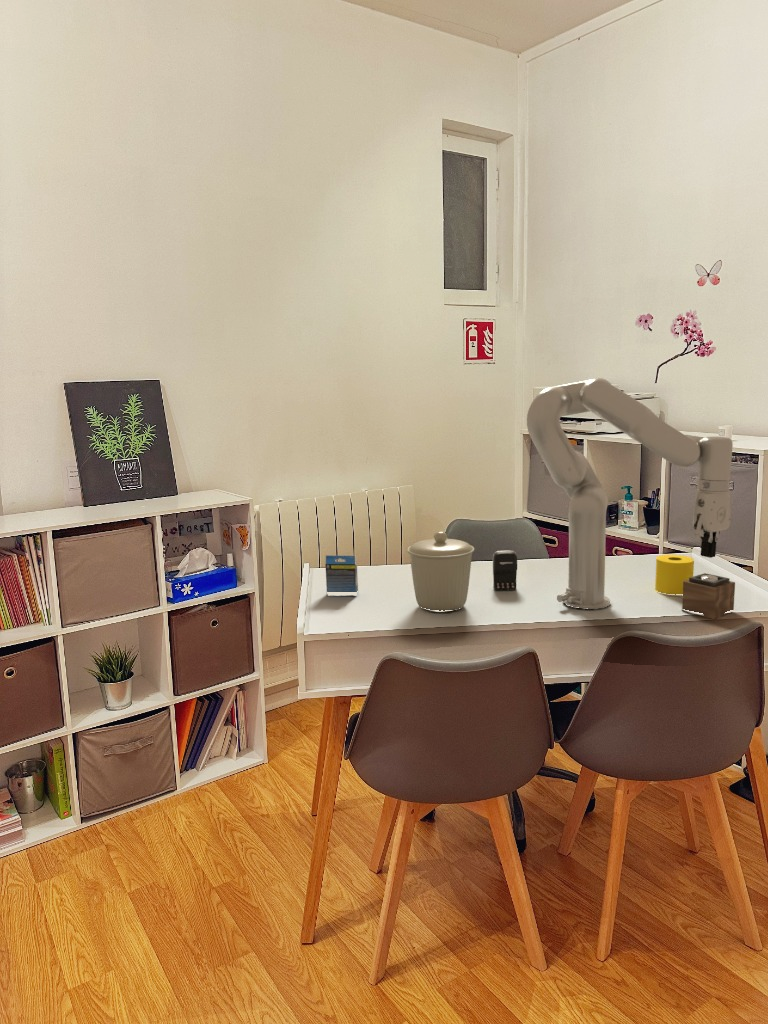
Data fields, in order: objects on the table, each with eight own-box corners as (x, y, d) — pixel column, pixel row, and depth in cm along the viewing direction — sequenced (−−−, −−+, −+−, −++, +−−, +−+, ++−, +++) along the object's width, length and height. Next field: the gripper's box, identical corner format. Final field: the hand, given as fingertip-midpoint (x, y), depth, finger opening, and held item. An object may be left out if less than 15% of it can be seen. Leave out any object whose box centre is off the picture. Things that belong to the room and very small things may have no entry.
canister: (483, 601, 221) (483, 527, 218) (460, 620, 205) (460, 541, 202) (424, 595, 229) (422, 523, 226) (397, 613, 213) (395, 536, 210)
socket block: (713, 619, 201) (715, 584, 200) (682, 611, 208) (683, 577, 207) (733, 612, 206) (735, 578, 205) (702, 604, 214) (703, 571, 212)
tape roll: (696, 596, 221) (697, 563, 219) (658, 595, 223) (659, 562, 221) (688, 586, 231) (689, 554, 229) (652, 585, 232) (653, 554, 231)
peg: (710, 610, 204) (711, 579, 203) (696, 606, 208) (697, 576, 206) (719, 607, 207) (720, 577, 205) (705, 603, 210) (706, 574, 209)
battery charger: (494, 592, 231) (494, 553, 229) (492, 588, 234) (492, 550, 232) (518, 591, 231) (518, 552, 228) (516, 587, 234) (516, 549, 232)
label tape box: (358, 593, 233) (357, 552, 231) (356, 597, 229) (355, 555, 227) (329, 593, 234) (327, 552, 232) (326, 596, 230) (324, 555, 228)
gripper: (709, 490, 194) (704, 563, 198) (743, 485, 203) (737, 555, 206) (682, 486, 200) (677, 557, 204) (716, 481, 209) (711, 549, 212)
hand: (707, 556), depth 205 cm, fingers closed
